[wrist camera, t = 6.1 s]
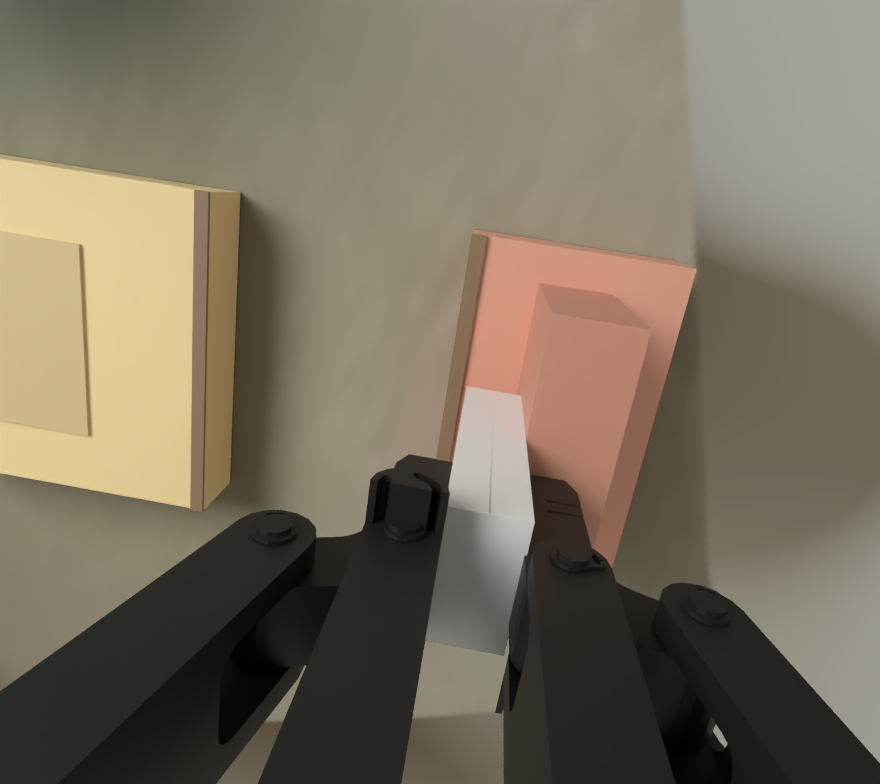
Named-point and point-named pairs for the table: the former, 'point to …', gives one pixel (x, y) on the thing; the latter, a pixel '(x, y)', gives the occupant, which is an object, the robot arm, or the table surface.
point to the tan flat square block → (117, 331)
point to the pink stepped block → (570, 360)
